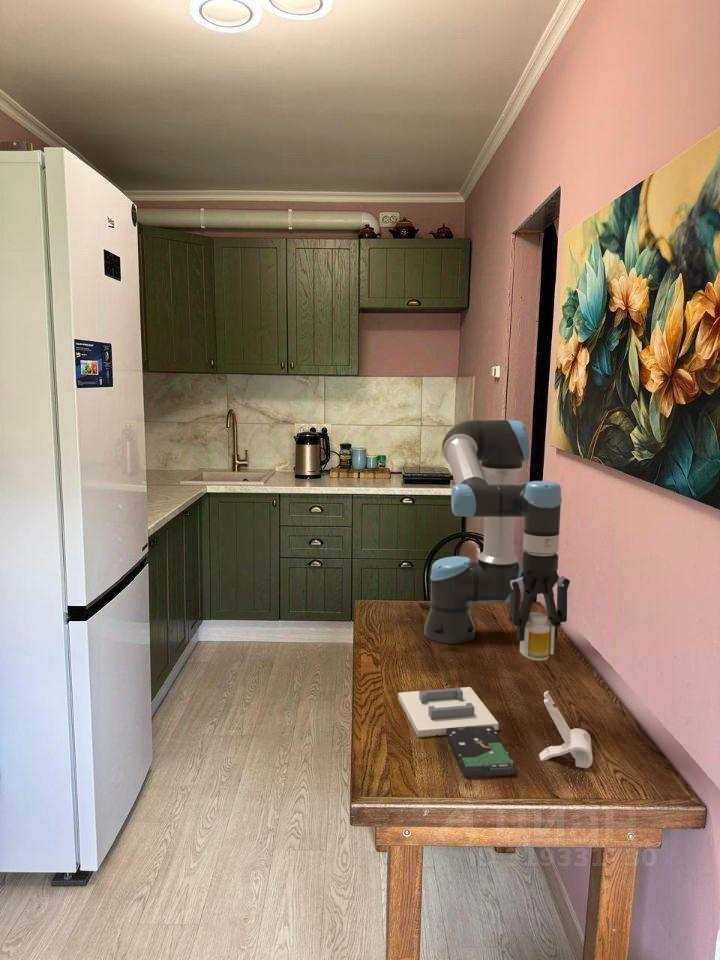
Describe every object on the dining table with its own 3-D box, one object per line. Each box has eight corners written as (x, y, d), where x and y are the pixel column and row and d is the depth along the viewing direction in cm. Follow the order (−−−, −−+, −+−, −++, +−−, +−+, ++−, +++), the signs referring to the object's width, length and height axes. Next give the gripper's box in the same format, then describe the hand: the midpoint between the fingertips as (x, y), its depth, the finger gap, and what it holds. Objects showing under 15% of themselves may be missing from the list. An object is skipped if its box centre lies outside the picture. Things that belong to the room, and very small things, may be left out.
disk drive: (445, 740, 140) (463, 780, 125) (445, 727, 139) (464, 766, 125) (492, 737, 141) (516, 776, 126) (492, 725, 140) (516, 763, 126)
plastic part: (591, 770, 128) (595, 713, 126) (539, 761, 131) (541, 706, 129) (590, 750, 135) (593, 696, 133) (540, 742, 138) (543, 689, 136)
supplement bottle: (553, 660, 145) (555, 618, 144) (530, 662, 145) (531, 619, 143) (542, 650, 151) (544, 610, 149) (520, 652, 150) (521, 611, 149)
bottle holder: (398, 698, 157) (398, 684, 157) (470, 692, 160) (470, 679, 160) (417, 737, 139) (418, 721, 139) (498, 729, 143) (498, 714, 142)
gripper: (508, 558, 139) (504, 662, 142) (588, 554, 142) (582, 656, 146) (494, 549, 146) (491, 649, 150) (571, 546, 150) (566, 643, 153)
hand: (536, 652), depth 148 cm, fingers closed on supplement bottle, 5 cm apart
